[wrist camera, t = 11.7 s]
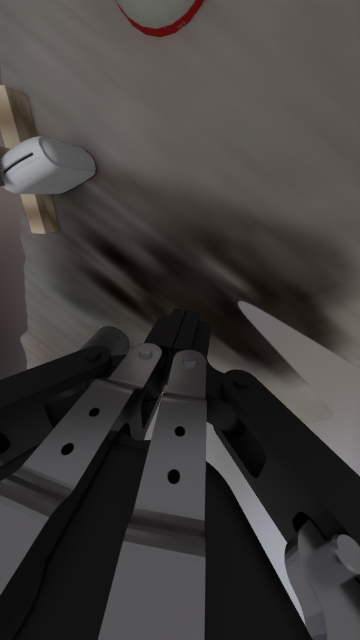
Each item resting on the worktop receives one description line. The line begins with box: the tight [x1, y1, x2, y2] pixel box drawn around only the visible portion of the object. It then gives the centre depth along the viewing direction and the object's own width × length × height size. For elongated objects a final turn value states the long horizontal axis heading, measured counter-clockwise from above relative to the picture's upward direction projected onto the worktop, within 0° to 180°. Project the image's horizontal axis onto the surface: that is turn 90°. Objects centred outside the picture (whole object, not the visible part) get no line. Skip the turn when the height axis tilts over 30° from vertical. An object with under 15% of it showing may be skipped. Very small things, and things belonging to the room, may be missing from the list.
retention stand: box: [0, 85, 60, 234], centre depth 32 cm, size 20×7×14 cm, turn 178°
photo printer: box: [0, 136, 96, 194], centre depth 32 cm, size 10×4×12 cm, turn 110°
